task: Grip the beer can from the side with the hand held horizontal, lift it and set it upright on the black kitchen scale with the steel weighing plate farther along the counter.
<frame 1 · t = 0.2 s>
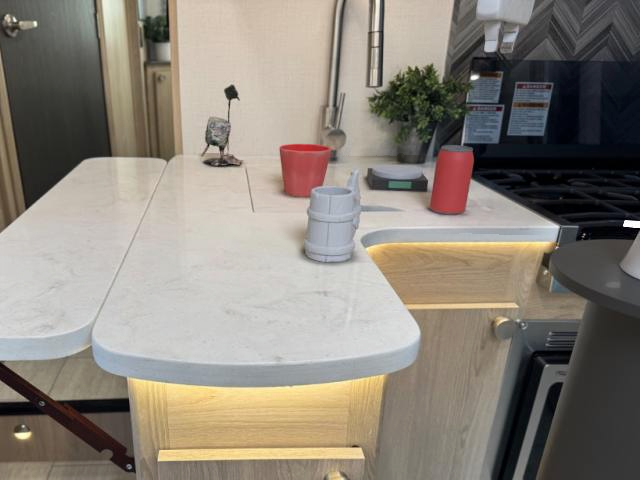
hand: (498, 52, 97), 28 cm above the counter, tool pointing down, fingers open, 8 cm apart
grey tall irregular piece: (222, 165, 150), on the counter
kitchen scale: (395, 184, 128), on the counter
mug: (335, 252, 87), on the counter
flower pot: (302, 193, 121), on the counter
beer can: (446, 212, 108), on the counter
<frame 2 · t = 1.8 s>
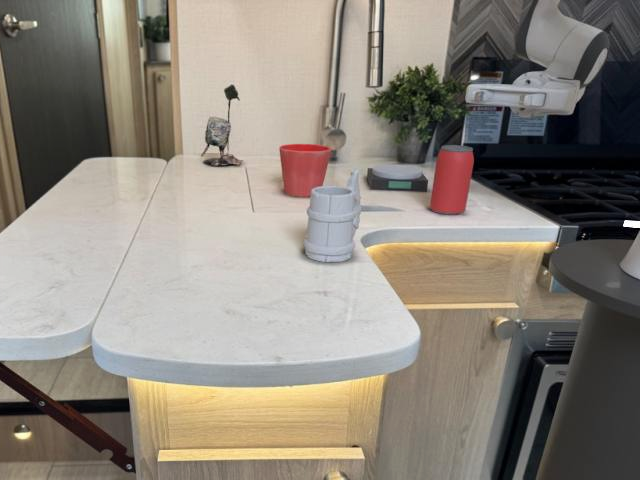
hand: (498, 98, 107), 20 cm above the counter, tool horizontal, fingers open, 8 cm apart
nothing on the counter moved.
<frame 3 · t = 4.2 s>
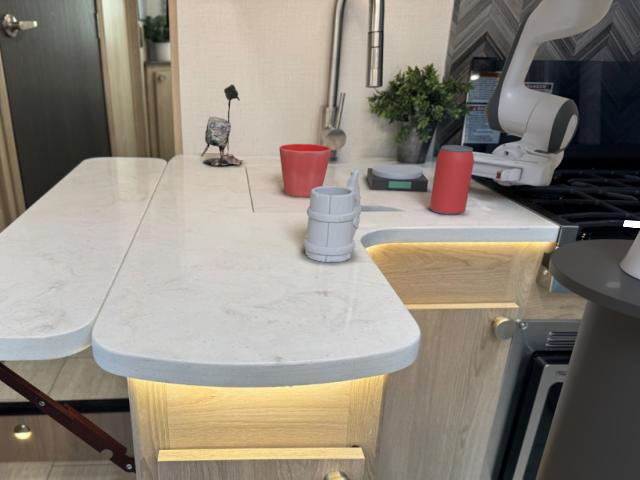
hand: (476, 172, 110), 6 cm above the counter, tool horizontal, fingers open, 8 cm apart
nothing on the counter moved.
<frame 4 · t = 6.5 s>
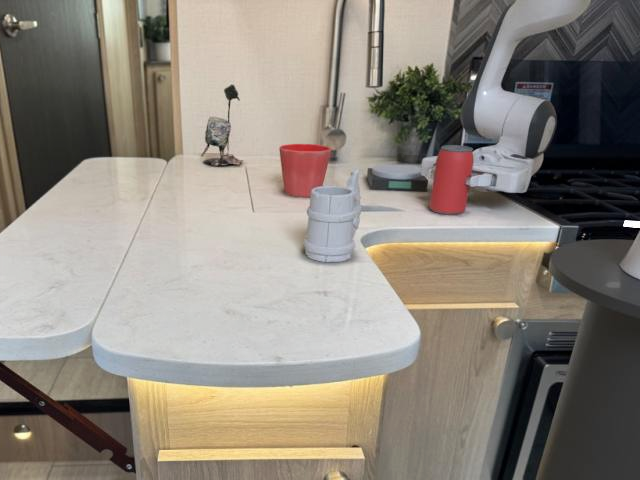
hand: (449, 178, 105), 7 cm above the counter, tool horizontal, fingers closed on beer can, 6 cm apart
beer can: (446, 212, 108), on the counter, touching gripper
everything else where it was.
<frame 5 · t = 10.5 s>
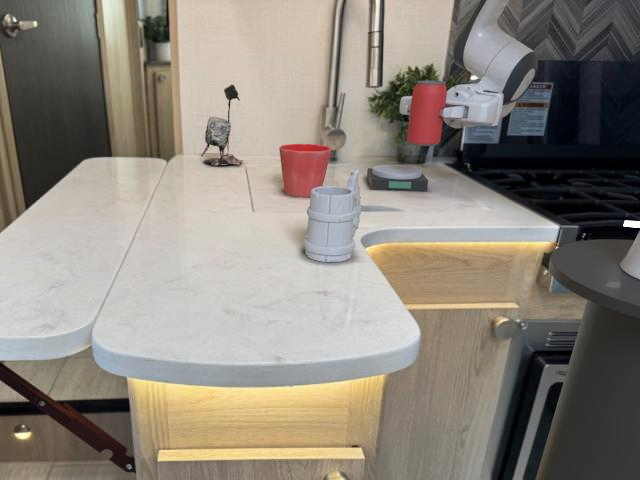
hand: (424, 111, 112), 17 cm above the counter, tool horizontal, fingers closed on beer can, 6 cm apart
beer can: (422, 144, 115), point 10 cm above the counter, touching gripper
everything else where it was.
when the fingers open (10 cm above the counter, at t = 14.4 s): beer can stays where it is, resting on kitchen scale.
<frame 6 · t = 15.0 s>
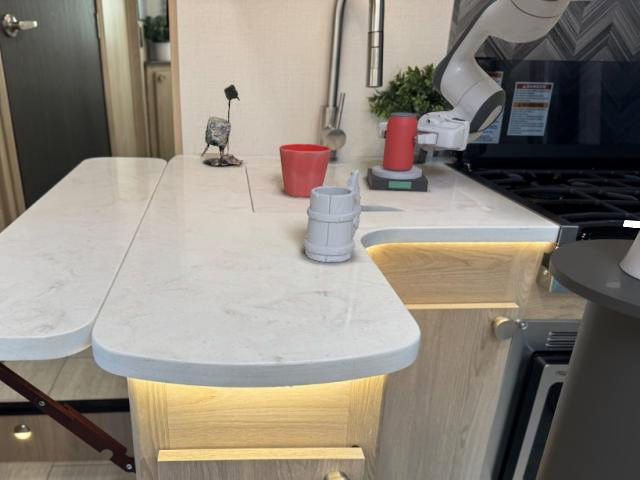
hand: (398, 136, 124), 11 cm above the counter, tool horizontal, fingers open, 8 cm apart
beer can: (397, 169, 127), point 3 cm above the counter, touching kitchen scale
everything else where it was.
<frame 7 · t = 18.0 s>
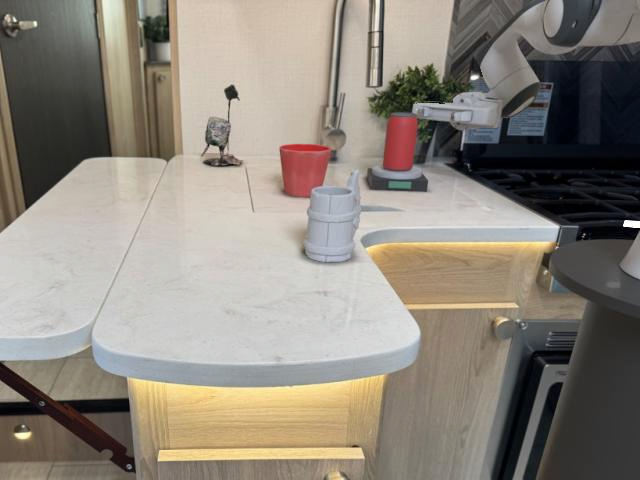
hand: (434, 115, 129), 14 cm above the counter, tool horizontal, fingers open, 8 cm apart
nothing on the counter moved.
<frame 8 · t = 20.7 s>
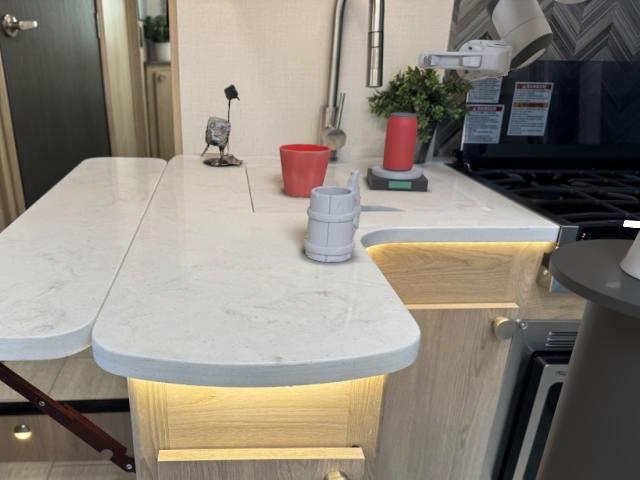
hand: (442, 61, 125), 26 cm above the counter, tool horizontal, fingers open, 8 cm apart
nothing on the counter moved.
at the end: beer can inside the target area on the kitchen scale (0.1 cm from its centre), point 3.3 cm above the kitchen scale's base; beer can tilted 0°; the gripper is holding nothing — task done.
